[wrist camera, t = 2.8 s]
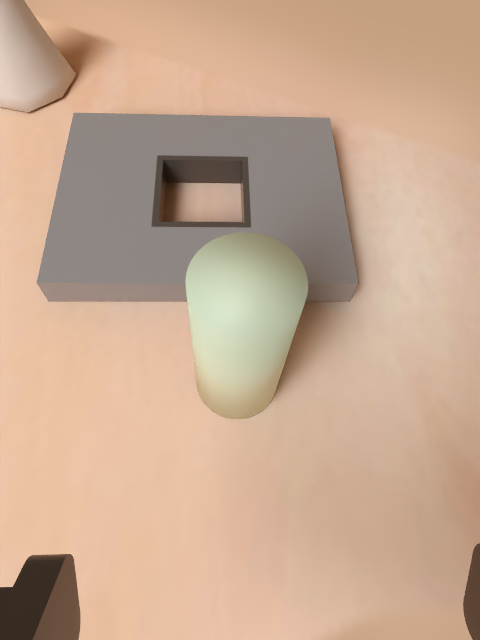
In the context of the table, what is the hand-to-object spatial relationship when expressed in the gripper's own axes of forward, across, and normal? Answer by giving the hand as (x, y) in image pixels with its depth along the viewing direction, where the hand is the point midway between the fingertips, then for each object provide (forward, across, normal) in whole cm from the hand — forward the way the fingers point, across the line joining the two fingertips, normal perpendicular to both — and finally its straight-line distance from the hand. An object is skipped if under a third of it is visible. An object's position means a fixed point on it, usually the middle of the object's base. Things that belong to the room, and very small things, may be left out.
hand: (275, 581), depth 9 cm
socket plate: (+24, +2, -6) cm, 25 cm away
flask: (+34, +16, -15) cm, 40 cm away
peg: (+16, 0, +3) cm, 16 cm away
